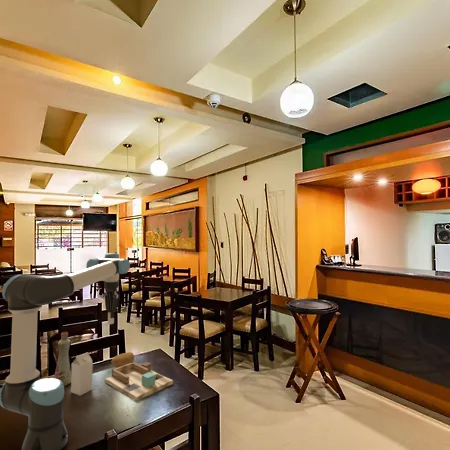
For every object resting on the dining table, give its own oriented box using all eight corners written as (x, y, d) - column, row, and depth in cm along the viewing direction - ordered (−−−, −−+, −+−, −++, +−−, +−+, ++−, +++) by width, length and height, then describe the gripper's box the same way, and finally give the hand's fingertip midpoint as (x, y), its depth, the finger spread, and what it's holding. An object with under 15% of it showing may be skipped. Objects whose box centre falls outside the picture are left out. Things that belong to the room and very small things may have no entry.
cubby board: (136, 401, 148) (136, 389, 148) (105, 382, 167) (105, 372, 168) (172, 383, 166) (172, 373, 166) (140, 368, 185) (140, 359, 185)
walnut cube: (146, 372, 175) (146, 365, 175) (141, 371, 176) (141, 364, 177) (150, 370, 178) (151, 363, 179) (145, 368, 180) (145, 362, 180)
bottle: (71, 386, 163) (72, 333, 164) (51, 389, 160) (53, 335, 161) (72, 379, 171) (73, 328, 172) (54, 381, 168) (55, 330, 169)
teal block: (147, 387, 157) (147, 377, 158) (141, 384, 161) (141, 375, 161) (155, 384, 161) (155, 374, 161) (149, 381, 164) (149, 372, 165)
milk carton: (70, 392, 156) (71, 355, 157) (83, 386, 162) (83, 350, 163) (80, 396, 153) (80, 357, 154) (92, 389, 159) (92, 353, 160)
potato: (108, 367, 186) (108, 354, 186) (130, 361, 195) (130, 349, 195) (114, 373, 179) (114, 359, 179) (137, 366, 188) (137, 353, 188)
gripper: (124, 281, 167) (123, 324, 166) (111, 279, 176) (111, 320, 175) (111, 282, 162) (110, 327, 161) (99, 280, 170) (98, 323, 169)
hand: (110, 323), depth 168 cm, fingers closed
